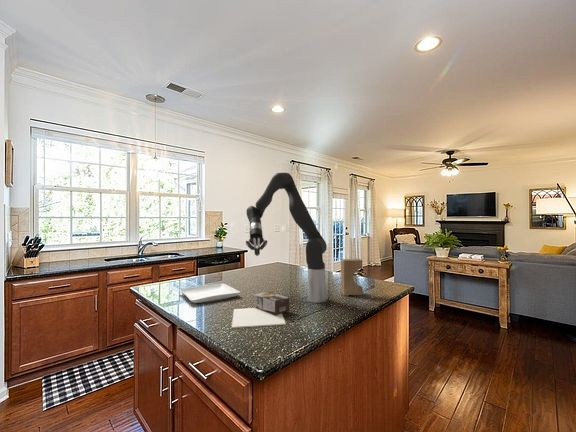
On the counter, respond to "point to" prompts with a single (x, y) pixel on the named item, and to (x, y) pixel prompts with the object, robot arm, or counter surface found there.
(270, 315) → the mat
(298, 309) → the counter surface
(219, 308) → the counter surface
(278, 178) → the robot arm
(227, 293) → the square plate
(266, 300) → the coffee box
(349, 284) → the decorative block
